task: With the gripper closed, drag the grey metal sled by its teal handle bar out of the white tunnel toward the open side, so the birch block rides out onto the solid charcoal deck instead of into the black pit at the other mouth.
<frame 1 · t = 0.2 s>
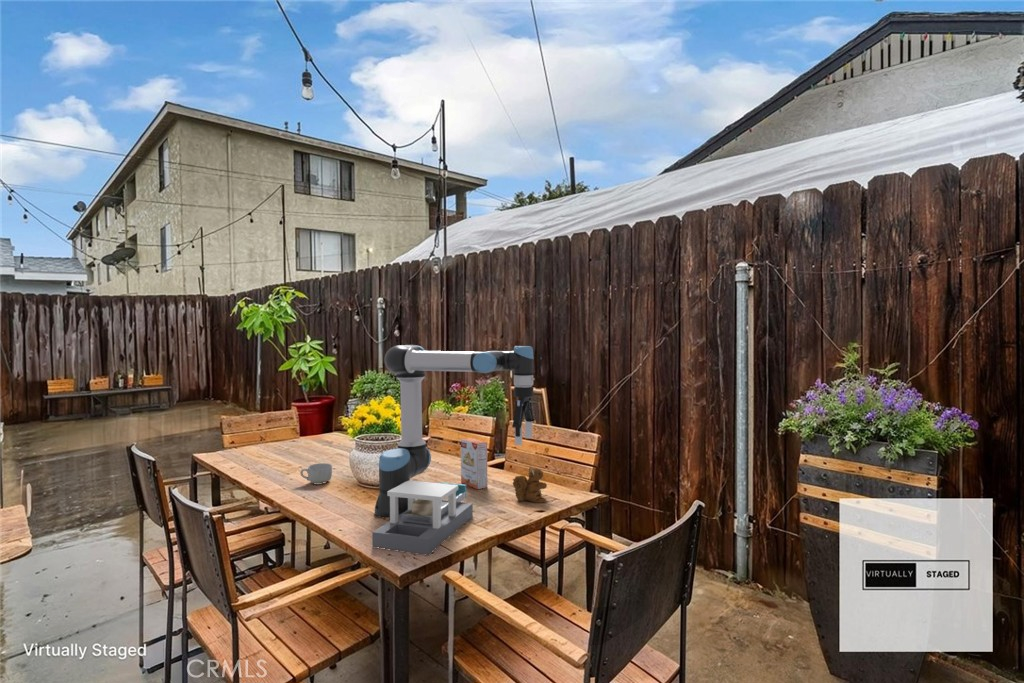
hand: (523, 441, 194), 28 cm above the table, tool pointing down, fingers open, 13 cm apart
tunnel track: (423, 533, 175), on the table
decorative flower: (394, 473, 253), on the table
block: (423, 518, 175), point 5 cm above the table, touching tunnel track
cracker box: (473, 486, 231), on the table
teacup: (316, 483, 236), on the table
sled: (436, 501, 184), point 8 cm above the table, slide at 0.0 cm
stuffed squirrel: (529, 500, 211), on the table
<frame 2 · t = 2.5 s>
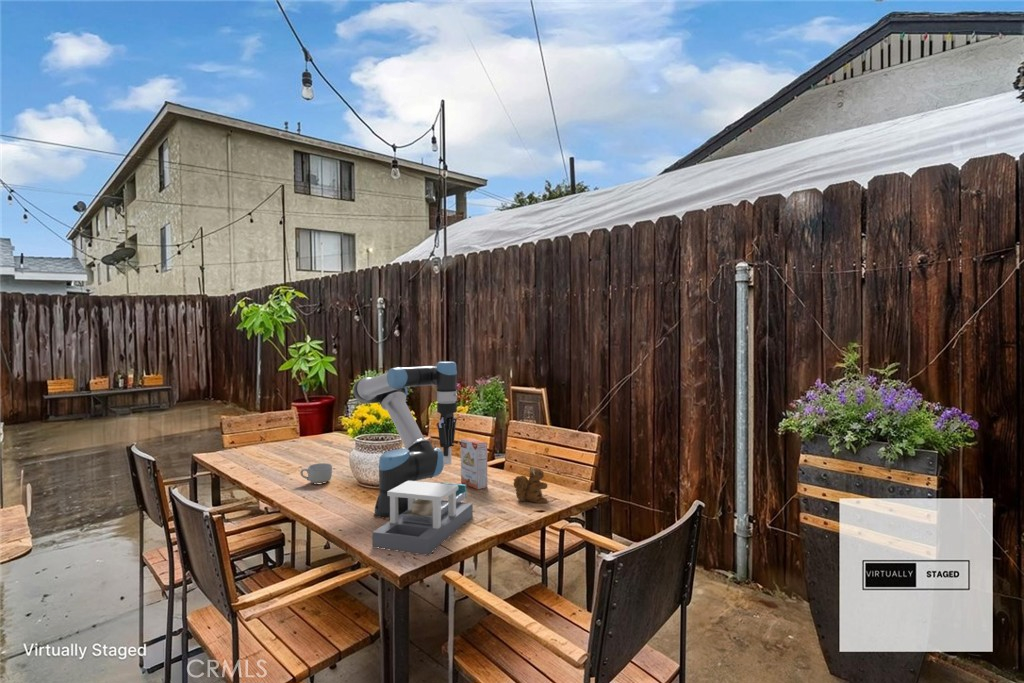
hand: (447, 463, 193), 19 cm above the table, tool pointing down, fingers closed
nothing on the table moved.
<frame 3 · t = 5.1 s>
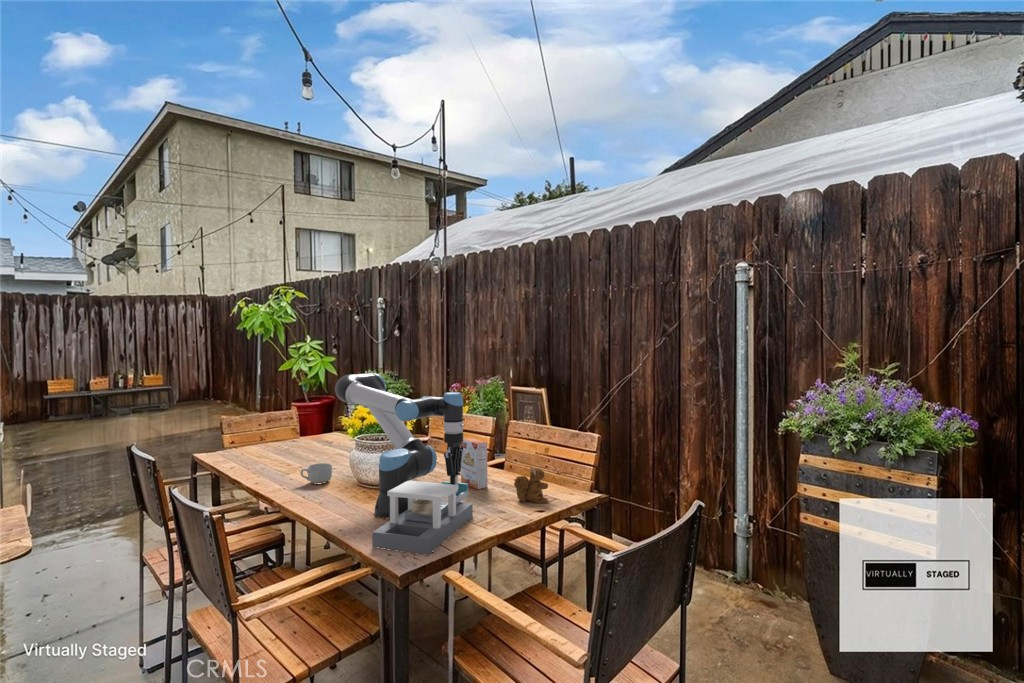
hand: (454, 492, 198), 7 cm above the table, tool pointing down, fingers closed
block: (423, 518, 175), point 5 cm above the table, touching sled
sled: (438, 500, 186), point 8 cm above the table, slide at 1.6 cm, touching block, gripper
everything else where it was.
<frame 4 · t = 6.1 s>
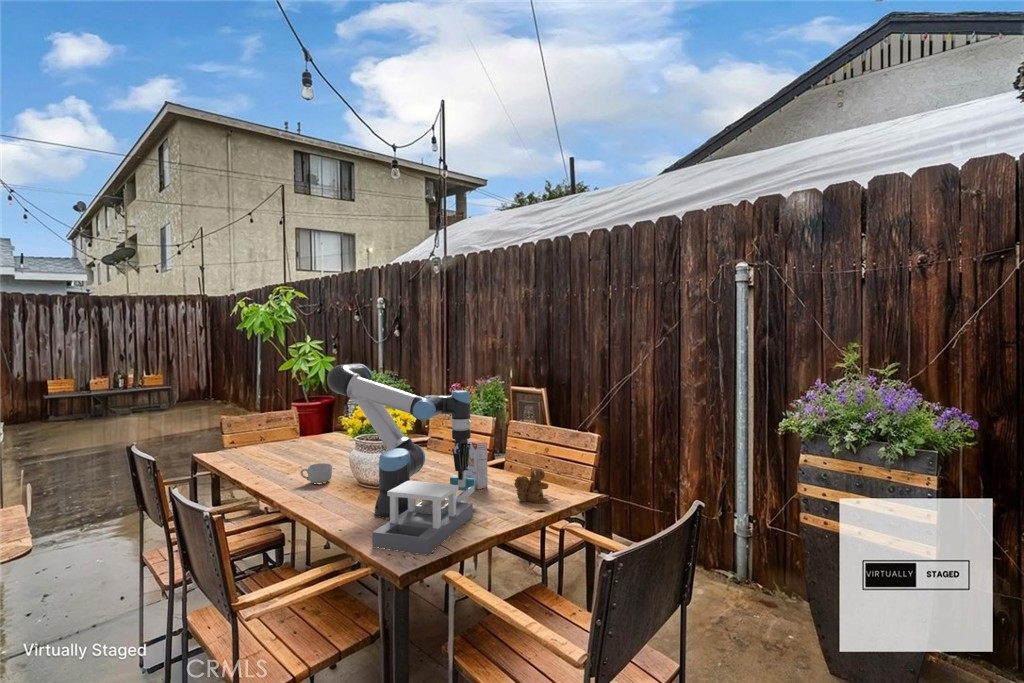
hand: (461, 486, 205), 7 cm above the table, tool pointing down, fingers closed
block: (433, 511, 182), point 5 cm above the table, touching tunnel track
sled: (447, 494, 193), point 8 cm above the table, slide at 9.0 cm, touching gripper
everything else where it was.
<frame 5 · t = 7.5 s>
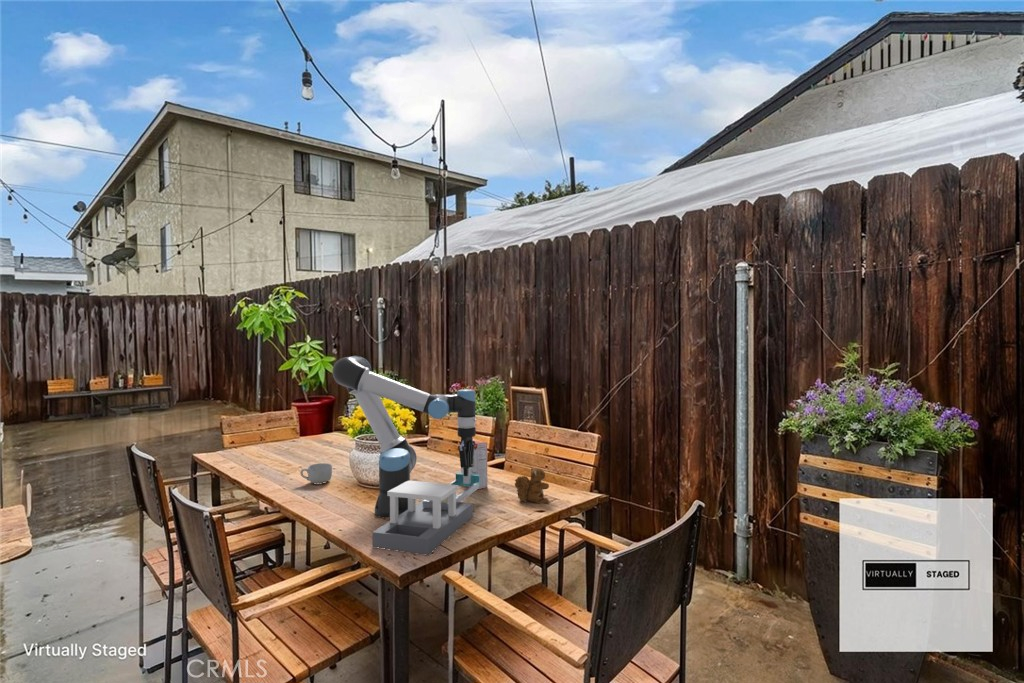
hand: (467, 483, 211), 7 cm above the table, tool pointing down, fingers closed
block: (440, 506, 187), point 5 cm above the table, touching sled, tunnel track
sled: (453, 490, 198), point 8 cm above the table, slide at 14.6 cm, touching block, gripper
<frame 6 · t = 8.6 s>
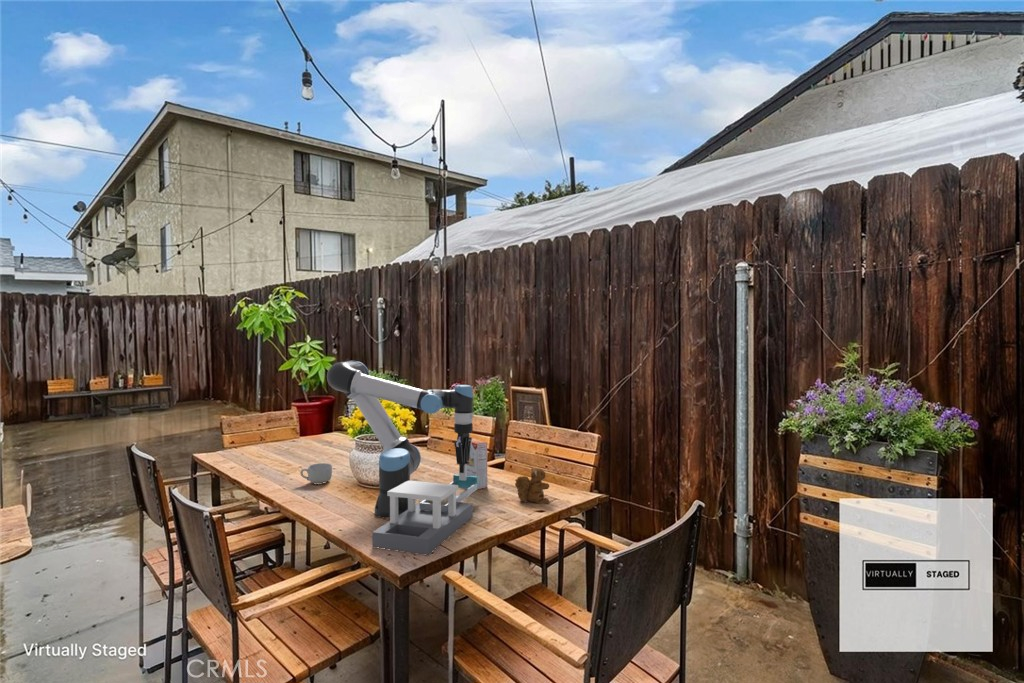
hand: (462, 479, 208), 9 cm above the table, tool pointing down, fingers closed
block: (440, 506, 187), point 5 cm above the table, touching tunnel track
sled: (450, 492, 196), point 8 cm above the table, slide at 12.2 cm
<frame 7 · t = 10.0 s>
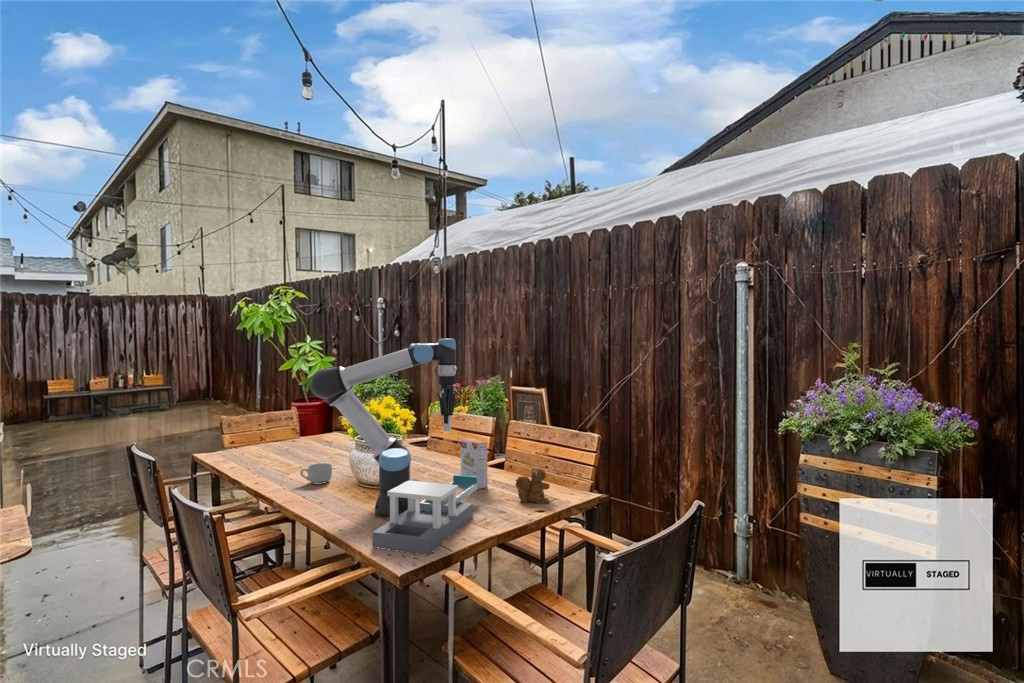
hand: (447, 430, 213), 28 cm above the table, tool pointing down, fingers closed
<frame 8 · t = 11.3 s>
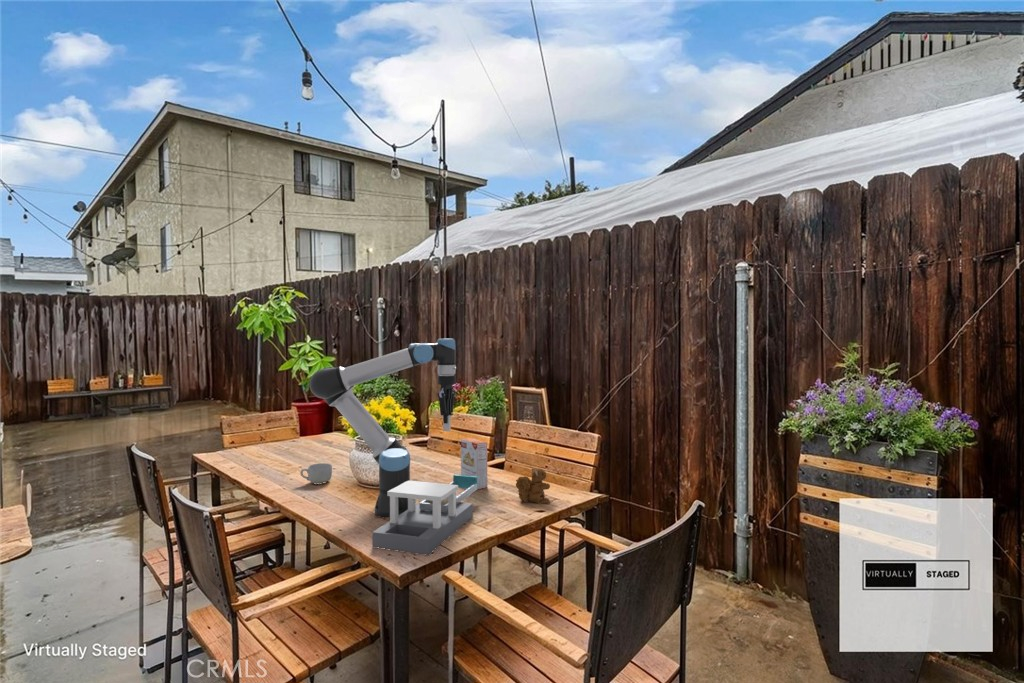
hand: (446, 430, 214), 28 cm above the table, tool pointing down, fingers closed
at the end: block inside the target area (1.9 cm from its centre), point 5.0 cm above the table; block tilted 0°; sled slide at 12.2 cm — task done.
